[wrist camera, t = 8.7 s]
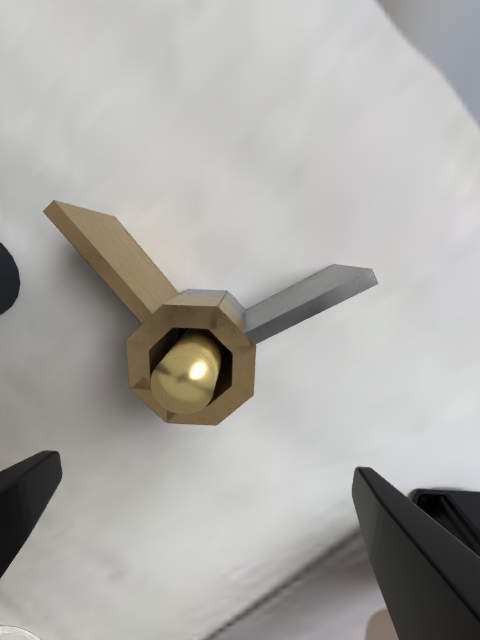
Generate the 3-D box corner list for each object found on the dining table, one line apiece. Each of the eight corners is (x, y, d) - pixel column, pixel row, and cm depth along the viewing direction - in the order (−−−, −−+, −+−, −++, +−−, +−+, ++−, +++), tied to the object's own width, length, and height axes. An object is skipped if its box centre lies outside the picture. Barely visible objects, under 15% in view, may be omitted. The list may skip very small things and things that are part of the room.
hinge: (325, 382, 21) (355, 432, 15) (119, 373, 21) (70, 418, 16) (344, 223, 18) (389, 209, 12) (106, 216, 19) (41, 199, 13)
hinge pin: (227, 355, 21) (213, 415, 13) (188, 353, 21) (152, 412, 13) (228, 317, 20) (214, 357, 12) (187, 315, 20) (148, 354, 12)
